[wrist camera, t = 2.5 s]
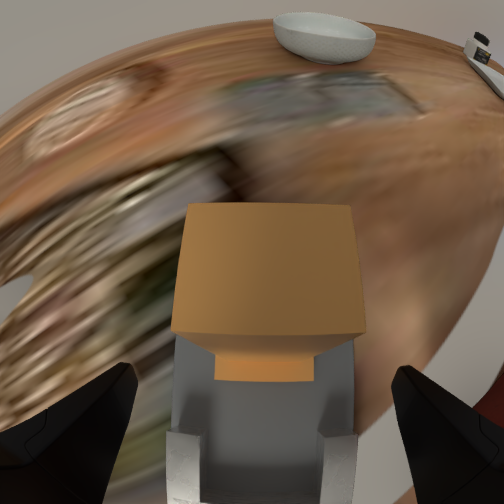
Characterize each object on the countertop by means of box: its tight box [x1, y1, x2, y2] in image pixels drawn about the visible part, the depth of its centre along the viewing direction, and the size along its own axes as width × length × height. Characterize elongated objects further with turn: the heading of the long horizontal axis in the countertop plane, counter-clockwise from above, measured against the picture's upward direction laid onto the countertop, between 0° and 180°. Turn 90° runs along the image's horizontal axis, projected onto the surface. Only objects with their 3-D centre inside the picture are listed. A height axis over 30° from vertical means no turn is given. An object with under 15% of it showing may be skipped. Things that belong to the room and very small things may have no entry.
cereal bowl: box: [273, 12, 376, 65], centre depth 34 cm, size 17×17×7 cm
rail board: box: [171, 334, 354, 493], centre depth 16 cm, size 15×12×1 cm
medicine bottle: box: [463, 32, 491, 66], centre depth 45 cm, size 7×7×12 cm
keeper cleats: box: [166, 425, 358, 504], centre depth 13 cm, size 6×11×2 cm, turn 88°
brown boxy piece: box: [171, 203, 366, 382], centre depth 14 cm, size 13×6×12 cm, turn 178°
